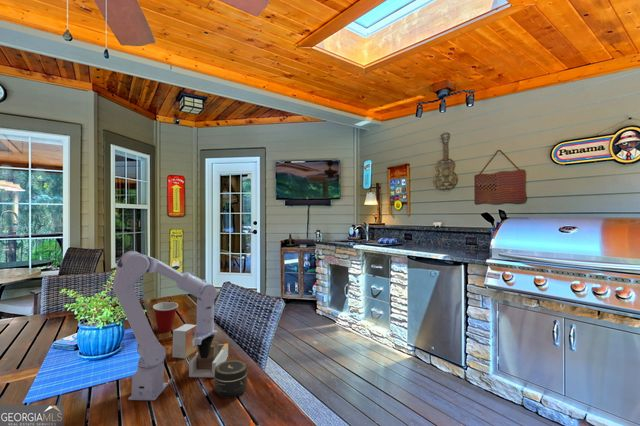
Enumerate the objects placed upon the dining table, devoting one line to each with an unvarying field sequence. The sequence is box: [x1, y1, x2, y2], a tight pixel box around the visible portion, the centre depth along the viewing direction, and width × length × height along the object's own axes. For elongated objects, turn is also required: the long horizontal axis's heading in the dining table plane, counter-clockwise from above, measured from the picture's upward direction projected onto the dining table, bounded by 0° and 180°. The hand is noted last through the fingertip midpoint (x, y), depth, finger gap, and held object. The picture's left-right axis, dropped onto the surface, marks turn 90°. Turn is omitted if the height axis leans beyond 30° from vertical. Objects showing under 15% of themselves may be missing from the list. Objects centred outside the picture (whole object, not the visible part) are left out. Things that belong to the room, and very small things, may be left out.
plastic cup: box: [152, 301, 179, 333], centre depth 155 cm, size 11×11×12 cm
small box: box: [171, 323, 197, 359], centre depth 130 cm, size 8×6×10 cm
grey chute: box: [188, 343, 229, 378], centre depth 120 cm, size 16×9×5 cm, turn 1°
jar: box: [213, 359, 248, 399], centre depth 104 cm, size 10×10×8 cm
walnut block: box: [197, 340, 219, 369], centre depth 118 cm, size 5×6×8 cm
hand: (204, 357), depth 114 cm, fingers closed
